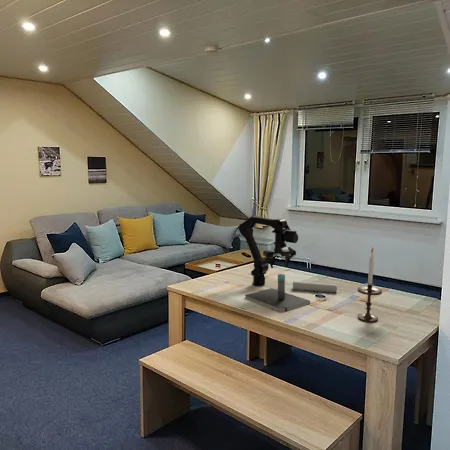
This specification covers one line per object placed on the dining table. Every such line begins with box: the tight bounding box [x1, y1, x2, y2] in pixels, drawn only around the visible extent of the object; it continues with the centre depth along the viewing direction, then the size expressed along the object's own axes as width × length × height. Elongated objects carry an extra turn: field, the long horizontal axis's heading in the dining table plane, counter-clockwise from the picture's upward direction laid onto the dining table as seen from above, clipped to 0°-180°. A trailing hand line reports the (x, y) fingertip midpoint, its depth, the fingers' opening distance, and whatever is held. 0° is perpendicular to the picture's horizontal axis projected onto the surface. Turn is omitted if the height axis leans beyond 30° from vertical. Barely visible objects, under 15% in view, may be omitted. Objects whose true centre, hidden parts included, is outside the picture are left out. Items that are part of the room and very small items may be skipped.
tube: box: [292, 280, 338, 294], centre depth 242 cm, size 5×5×25 cm
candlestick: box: [356, 247, 383, 323], centre depth 197 cm, size 11×11×35 cm
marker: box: [277, 273, 286, 300], centre depth 221 cm, size 4×4×13 cm
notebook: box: [244, 287, 311, 313], centre depth 224 cm, size 22×2×28 cm
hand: (279, 267), depth 242 cm, fingers open, 9 cm apart
